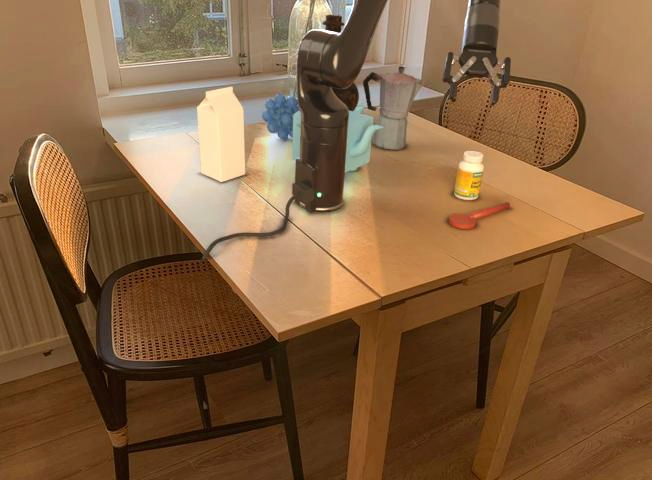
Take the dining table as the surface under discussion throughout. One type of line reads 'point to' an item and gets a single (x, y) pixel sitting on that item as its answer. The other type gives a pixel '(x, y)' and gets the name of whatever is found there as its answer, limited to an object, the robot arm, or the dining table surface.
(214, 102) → the milk carton
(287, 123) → the grapes
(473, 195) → the supplement bottle
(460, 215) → the red spoon
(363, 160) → the teakettle
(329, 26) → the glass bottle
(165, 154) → the dining table surface
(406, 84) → the moka pot
